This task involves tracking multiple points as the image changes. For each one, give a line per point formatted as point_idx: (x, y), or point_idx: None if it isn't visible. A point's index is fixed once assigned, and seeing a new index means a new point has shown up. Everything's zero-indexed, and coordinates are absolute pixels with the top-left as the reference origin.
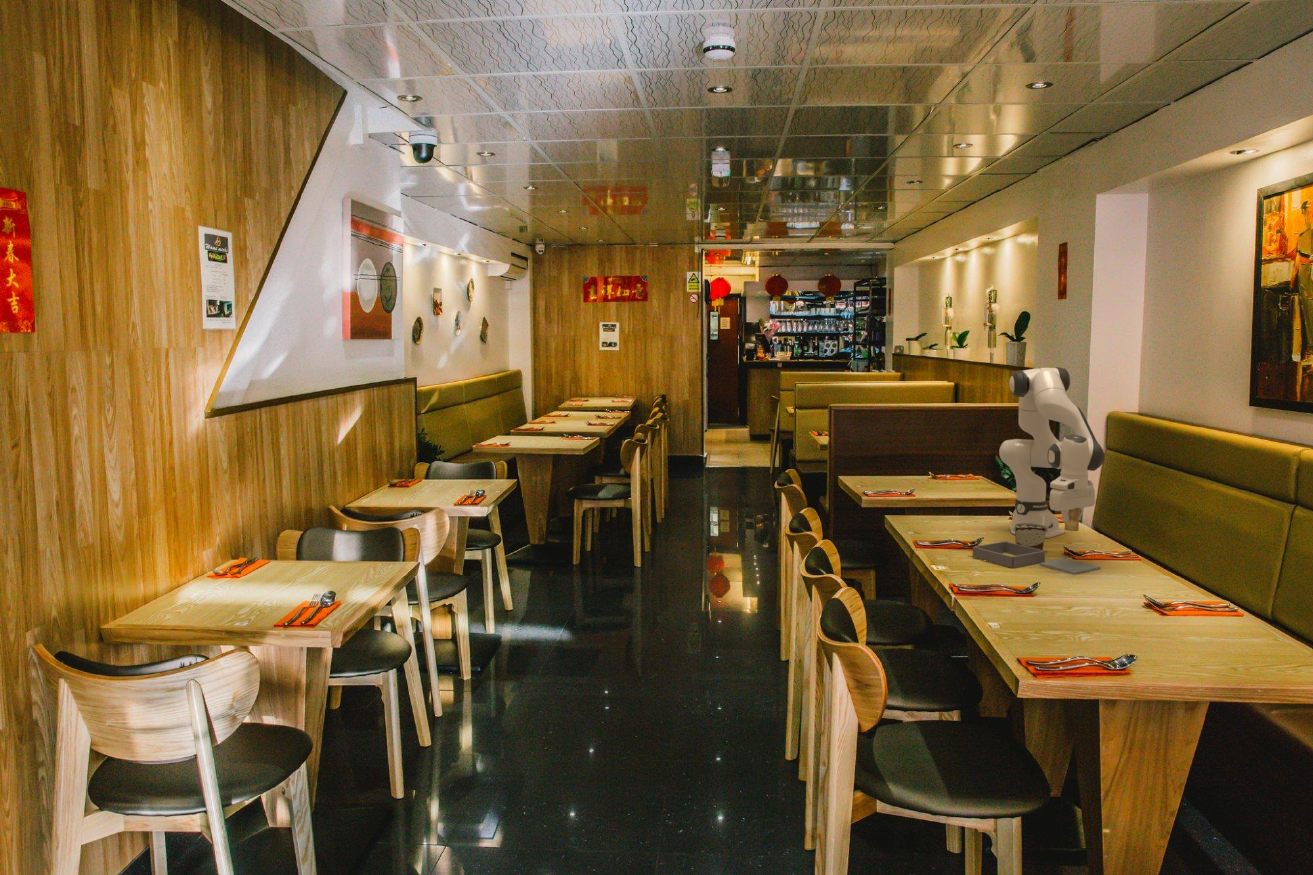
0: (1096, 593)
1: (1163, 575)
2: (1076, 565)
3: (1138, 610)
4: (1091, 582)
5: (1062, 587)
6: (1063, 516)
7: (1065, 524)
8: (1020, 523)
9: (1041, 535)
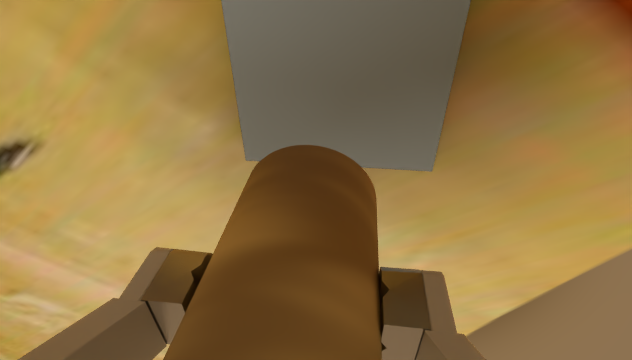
0: None
1: (515, 305)
2: (359, 99)
3: None
4: (222, 232)
5: (88, 214)
6: (110, 310)
7: (234, 209)
8: None
9: None
